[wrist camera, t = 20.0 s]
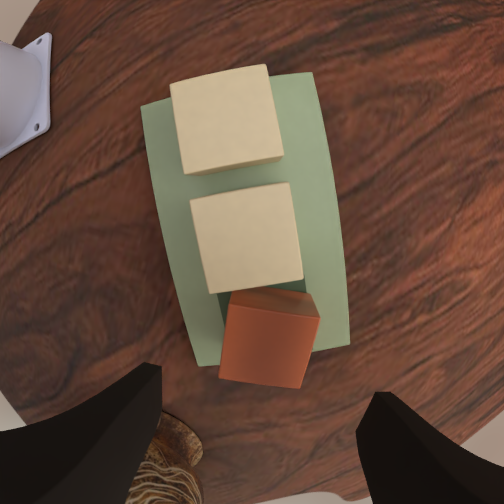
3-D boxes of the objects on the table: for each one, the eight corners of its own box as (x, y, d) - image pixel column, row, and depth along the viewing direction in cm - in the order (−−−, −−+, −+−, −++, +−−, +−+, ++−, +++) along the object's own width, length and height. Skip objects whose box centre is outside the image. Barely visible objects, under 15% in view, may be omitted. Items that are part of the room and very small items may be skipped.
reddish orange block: (224, 347, 16) (217, 378, 13) (234, 280, 15) (228, 303, 12) (294, 357, 16) (300, 389, 13) (311, 293, 15) (321, 317, 12)
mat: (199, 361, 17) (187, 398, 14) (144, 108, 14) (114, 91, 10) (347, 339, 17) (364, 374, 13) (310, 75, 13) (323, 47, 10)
